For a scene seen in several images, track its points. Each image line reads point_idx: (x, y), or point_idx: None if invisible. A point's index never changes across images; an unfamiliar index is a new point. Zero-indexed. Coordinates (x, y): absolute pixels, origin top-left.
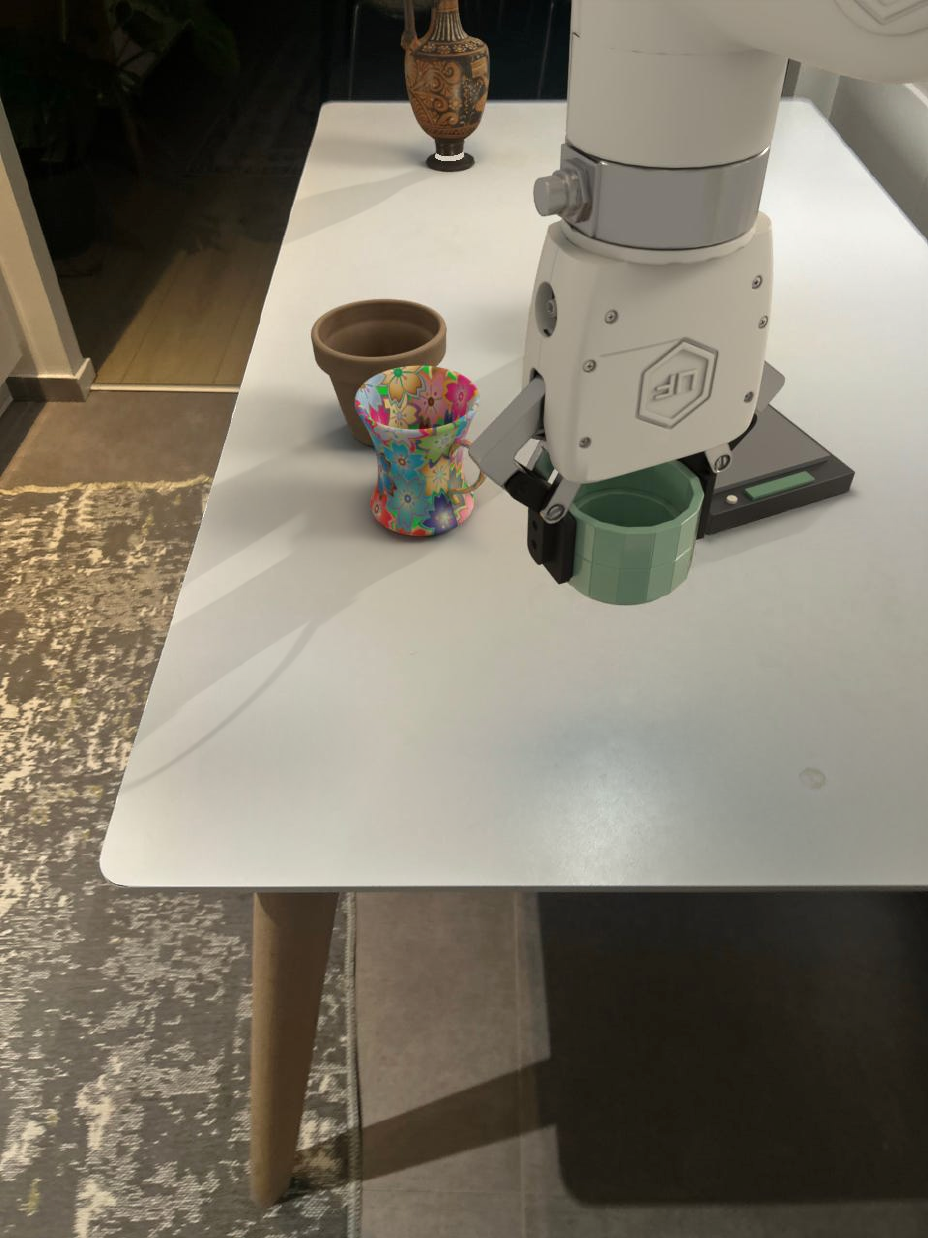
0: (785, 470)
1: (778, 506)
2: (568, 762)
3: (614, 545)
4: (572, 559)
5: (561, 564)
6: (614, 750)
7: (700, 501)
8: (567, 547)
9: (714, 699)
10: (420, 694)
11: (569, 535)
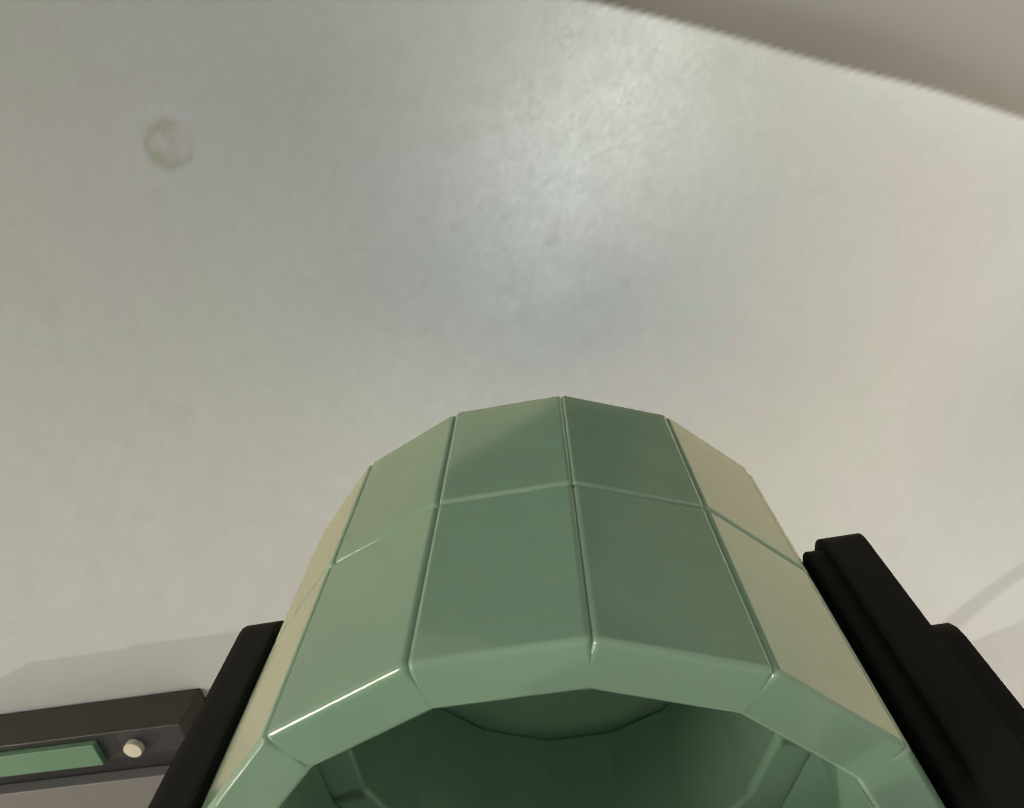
0: (17, 787)
1: (56, 719)
2: (603, 284)
3: (782, 619)
4: (855, 613)
5: (906, 599)
6: (512, 290)
7: (227, 794)
8: (933, 666)
9: (296, 357)
10: (802, 480)
11: (969, 725)
